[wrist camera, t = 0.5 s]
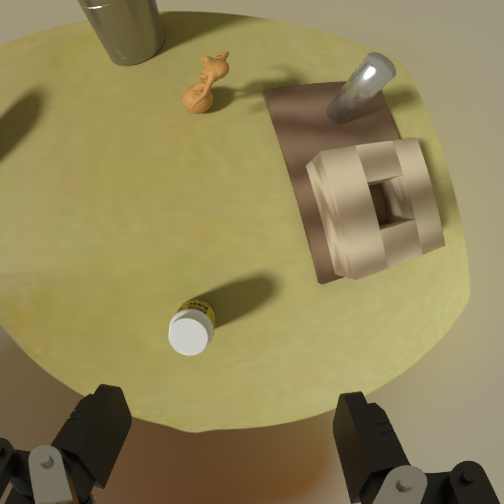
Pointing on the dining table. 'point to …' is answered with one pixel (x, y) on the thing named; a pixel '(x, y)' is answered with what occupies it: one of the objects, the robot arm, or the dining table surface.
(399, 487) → the robot arm
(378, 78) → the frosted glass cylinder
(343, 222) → the beech bead block
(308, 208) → the walnut board
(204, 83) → the figurine
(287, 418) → the dining table surface
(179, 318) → the supplement bottle
